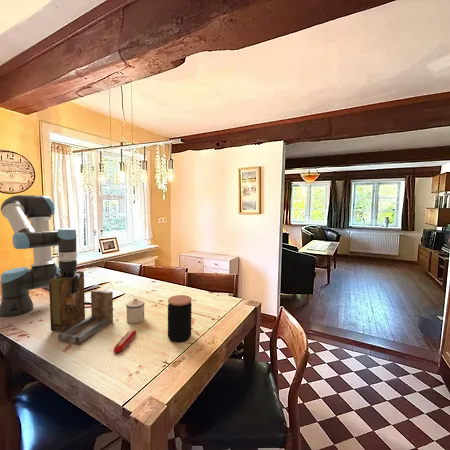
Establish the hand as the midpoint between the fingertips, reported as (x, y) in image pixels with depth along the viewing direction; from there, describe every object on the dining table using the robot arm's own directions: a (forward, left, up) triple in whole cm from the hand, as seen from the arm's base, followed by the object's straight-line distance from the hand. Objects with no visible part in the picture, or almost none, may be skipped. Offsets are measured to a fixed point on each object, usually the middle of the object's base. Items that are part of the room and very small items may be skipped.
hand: (68, 306), depth 126 cm
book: (0, 0, -10) cm, 10 cm away
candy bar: (+37, -8, -10) cm, 39 cm away
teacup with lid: (+27, +14, -10) cm, 32 cm away
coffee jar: (+57, +3, -10) cm, 58 cm away
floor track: (+13, -3, -9) cm, 17 cm away
